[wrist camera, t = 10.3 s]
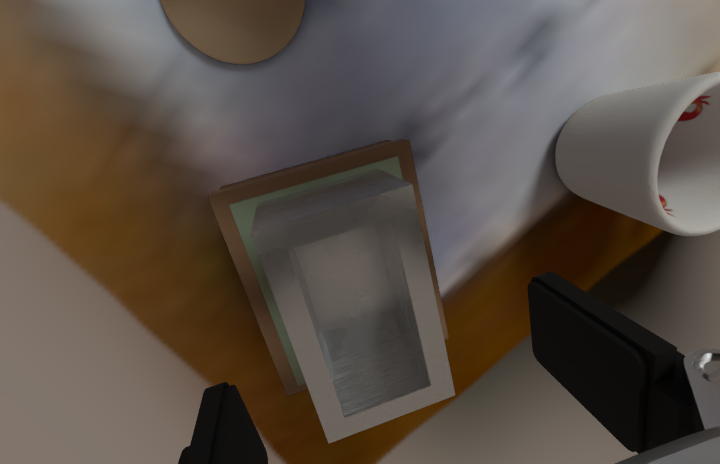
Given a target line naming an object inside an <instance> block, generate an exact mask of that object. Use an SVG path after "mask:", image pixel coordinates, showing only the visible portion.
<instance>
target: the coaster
mask: <svg viewBox="0 0 720 464" xmlns="http://www.w3.org/2000/svg"><path fill="white" fill-rule="evenodd" d="M160 2H161V4H162V6H163V8H164V11H165V13H166V14H167V16H168V18H169V19H170V21H171V23H172V24H173V25H174V27H175V28H176V29H177V31H178V32H179V33H180V34H181V35H182V36H183V37H184V38H185V39H186V40H187V41H188V42H189V43H190V44H192V45H193V46H194V47H195V48H197V49H198V50H200V51H201V52H202V53H204V54H206V55H208V56H210V57H212V58H214V59H217V60H219V61H222V62H227V63H231V64H253V63H258V62H261V61H265V60H267V59H269V58H271V57H273V56H275V55H276V54H278V53H279V52H280V51H282V50H283V49H284V48H285V47H286V46H287V45H288V44H289V42H290V41H291V40H292V39H293V37H294V35H295V34H296V32H297V30H298V28H299V25H300V23H301V20H302V16H303V12H304V6H305V0H160Z"/></svg>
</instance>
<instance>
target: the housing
mask: <svg viewBox="0 0 720 464" xmlns="http://www.w3.org/2000/svg"><path fill="white" fill-rule="evenodd" d="M251 236H252V238H253V241H254V244H255V246H256V249H257V252H258V254H259V257H260V260H261V263H262V265H263V268H264V271H265V273H266V276H267V279H268V281H269V284H270V287H271V290H272V292H273V295H274V298H275V300H276V303H277V306H278V308H279V311H280V314H281V317H282V319H283V322H284V325H285V327H286V330H287V333H288V335H289V338H290V341H291V344H292V346H293V349H294V352H295V354H296V357H297V360H298V362H299V365H300V368H301V371H302V373H303V376H304V379H305V381H306V384H307V387H308V389H309V392H310V395H311V398H312V400H313V403H314V406H315V408H316V411H317V414H318V416H319V419H320V422H321V425H322V427H323V430H324V433H325V435H326V438H327V441H328V443H332V442H335V441H337V440H340V439H342V438H345V437H348V436H350V435H353V434H355V433H358V432H361V431H363V430H366V429H368V428H371V427H374V426H376V425H379V424H381V423H384V422H387V421H389V420H392V419H395V418H397V417H400V416H402V415H405V414H408V413H410V412H413V411H415V410H418V409H421V408H423V407H426V406H428V405H431V404H434V403H436V402H439V401H442V400H444V399H447V398H449V397H452V396H455V391H454V386H453V381H452V376H451V371H450V366H449V361H448V357H447V352H446V347H445V342H444V337H443V332H442V327H441V322H440V317H439V312H438V307H437V303H436V298H435V293H434V288H433V283H432V278H431V273H430V268H429V263H428V258H427V253H426V249H425V244H424V239H423V234H422V229H421V224H420V219H419V214H418V209H417V204H416V200H415V195H414V190H413V185H412V184H411V183H408V182H406V181H404V180H402V179H400V178H398V177H395V176H393V175H391V174H389V173H387V172H385V171H382V170H380V169H378V168H376V169H373V170H369V171H366V172H363V173H359V174H356V175H352V176H349V177H345V178H342V179H338V180H335V181H332V182H328V183H325V184H321V185H318V186H314V187H311V188H307V189H304V190H301V191H297V192H294V193H290V194H287V195H283V196H280V197H276V198H273V199H270V200H266V201H263V202H259V203H257V207H256V212H255V216H254V220H253V224H252V229H251Z"/></svg>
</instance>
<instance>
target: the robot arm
mask: <svg viewBox="0 0 720 464" xmlns="http://www.w3.org/2000/svg"><path fill="white" fill-rule="evenodd" d="M528 299H529V311H530V323H531V335H532V347H533V353H534V356H535V358H536V359H537V361H539V363H540V364H541V365H542V366H543V367H544V368H545V369H546V370H547V371H548V372H549V373H550V374H551V375H552V376H553V377H554V378H555V379H556V380H558V382H560V383H561V385H562V386H563V387H565V388H566V389H567V390H568V391H569V392H570V393H571V394H572V395H573V396H574V397H575V398H576V399H577V400H578V401H579V402H580V403H581V404H582V405H583V406H584V407H585V408H586V409H587V410H588V411H589V412H590V413H591V414H592V415H593V416H594V417H595V418H596V419H597V420H598V421H599V422H600V423H601V424H602V425H603V426H604V427H605V428H606V429H607V430H608V431H609V432H610V433H611V434H612V435H613V436H614V437H615V438H616V439H618V440H619V442H621V443H622V444H623V445H624V446H625V447H626V448H627V449H628V450H630V451H632V452H635V451H636V452H637V453H638V455H635V456H632V457H630V458H628V459H625V460H623V461H620V462H618V463H615V464H720V350H719V349H705V348H704V349H698V350H694V351H692V352H690V353H688V354H687V355H686V356H684V355H683V354H681V353H679V352H678V351H677V347H675V346H674V345H672V344H670V343H669V342H667V341H665V340H664V339H662V338H660V337H659V336H657V335H655V334H654V333H652V332H650V331H649V330H647V329H645V328H644V327H642V326H640V325H639V324H637V323H636V322H634V321H632V320H630V319H629V318H627V317H626V316H624V315H622V314H621V313H619V312H617V311H616V310H614V309H612V308H611V307H609V306H608V305H606V304H604V303H603V302H601V301H599V300H598V299H596V298H594V297H593V296H591V295H589V294H588V293H586V292H584V291H583V290H581V289H580V288H578V287H576V286H575V285H573V284H571V283H570V282H568V281H566V280H565V279H563V278H561V277H560V276H558V275H556V274H555V273H553V272H547V273H544V274H541V275H538V276H535V277H533V278H532V279H531V283H529V284H528ZM178 464H268V457H267V452H266V449H265V447H264V445H263V442H262V440H261V438H260V436H259V434H258V432H257V430H256V428H255V426H254V423H253V421H252V419H251V417H250V415H249V413H248V411H247V409H246V406H245V404H244V402H243V400H242V398H241V396H240V394H239V392H238V390H237V388H236V386H235V385H231V386H229V385H228V383H227V382H224V383H221V384H218V385H215V386H212V387H209V388H206V389H205V391H204V393H203V397H202V402H201V405H200V409H199V413H198V417H197V421H196V425H195V429H194V433H193V437H192V441H191V445H190V446H189V447H186V448H185V449H184V450H183V451H182V453H181V456H180V459H179V463H178Z"/></svg>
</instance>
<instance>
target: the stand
mask: <svg viewBox="0 0 720 464" xmlns="http://www.w3.org/2000/svg"><path fill="white" fill-rule="evenodd" d="M376 168H378V169H380V170H382V171H385V172H387V173H389V174H391V175H393V176H395V177H398V178H400V179H402V180H404V181H406V182H408V183H411V184H412V185H413V190H414V195H415V200H416V204H417V209H418V214H419V219H420V224H421V229H422V234H423V239H424V244H425V249H426V253H427V258H428V263H429V268H430V273H431V278H432V283H433V288H434V293H435V298H436V303H437V307H438V312H439V317H440V322H441V327H442V332H443V337H444V340H446V339H448V338H449V337H448V332H447V327H446V322H445V317H444V312H443V307H442V302H441V297H440V292H439V287H438V282H437V276H436V271H435V266H434V261H433V256H432V251H431V246H430V241H429V236H428V231H427V226H426V221H425V216H424V211H423V206H422V201H421V196H420V191H419V186H418V181H417V176H416V171H415V166H414V161H413V156H412V151H411V146H410V141H409V140H406V139H399V140H396V141H390V140H386V141H383V142H379V143H376V144H372V145H369V146H365V147H361V148H358V149H354V150H351V151H347V152H344V153H340V154H337V155H333V156H330V157H326V158H322V159H319V160H315V161H312V162H308V163H305V164H301V165H298V166H294V167H291V168H287V169H283V170H280V171H276V172H273V173H269V174H266V175H262V176H259V177H255V178H252V179H248V180H244V181H241V182H237V183H234V184H230V185H227V186H223V187H221V188H220V189H219V190H218V191H216V192H212V193H211V194H210V195H209V196H208V199H209V202H210V204H211V207H212V209H213V212H214V214H215V217H216V219H217V222H218V224H219V227H220V229H221V232H222V234H223V237H224V239H225V242H226V244H227V247H228V249H229V252H230V254H231V257H232V259H233V262H234V264H235V267H236V269H237V272H238V274H239V277H240V279H241V282H242V284H243V287H244V289H245V292H246V294H247V297H248V299H249V302H250V304H251V307H252V309H253V312H254V314H255V317H256V319H257V322H258V325H259V327H260V330H261V332H262V335H263V337H264V340H265V342H266V345H267V347H268V350H269V352H270V355H271V357H272V360H273V362H274V365H275V367H276V370H277V372H278V375H279V377H280V380H281V382H282V385H283V387H284V390H285V392H286V395H287V397H288V396H291V395H294V394H296V393H299V392H302V391H305V390H307V389H308V387H307V384H306V381H305V379H304V376H303V373H302V371H301V368H300V365H299V362H298V360H297V357H296V354H295V352H294V349H293V346H292V344H291V341H290V338H289V335H288V333H287V330H286V327H285V325H284V322H283V319H282V317H281V314H280V311H279V308H278V306H277V303H276V300H275V298H274V295H273V292H272V290H271V287H270V284H269V281H268V279H267V276H266V273H265V271H264V268H263V265H262V263H261V260H260V257H259V254H258V252H257V249H256V246H255V244H254V241H253V238H252V236H251V229H252V224H253V220H254V216H255V212H256V207H257V203H259V202H263V201H266V200H270V199H273V198H276V197H280V196H283V195H287V194H290V193H294V192H297V191H301V190H304V189H307V188H311V187H314V186H318V185H321V184H325V183H328V182H332V181H335V180H338V179H342V178H345V177H349V176H352V175H356V174H359V173H363V172H366V171H369V170H373V169H376Z"/></svg>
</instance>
